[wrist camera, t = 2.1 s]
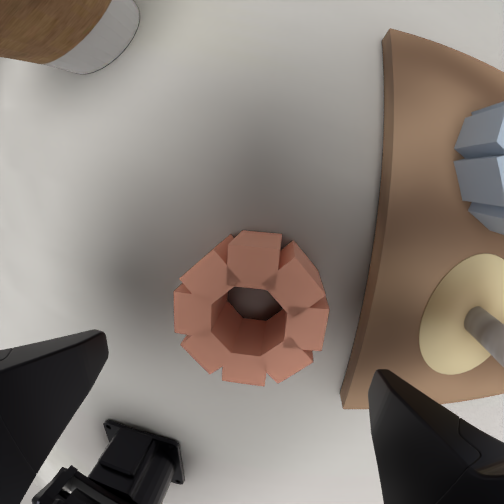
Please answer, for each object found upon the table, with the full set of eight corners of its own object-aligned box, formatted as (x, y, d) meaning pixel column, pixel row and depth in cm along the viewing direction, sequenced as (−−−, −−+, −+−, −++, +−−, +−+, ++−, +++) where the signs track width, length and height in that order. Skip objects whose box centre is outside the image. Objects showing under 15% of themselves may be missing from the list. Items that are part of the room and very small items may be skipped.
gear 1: (309, 351, 15) (312, 390, 12) (197, 337, 16) (176, 372, 13) (326, 238, 14) (338, 255, 11) (199, 226, 15) (173, 238, 11)
